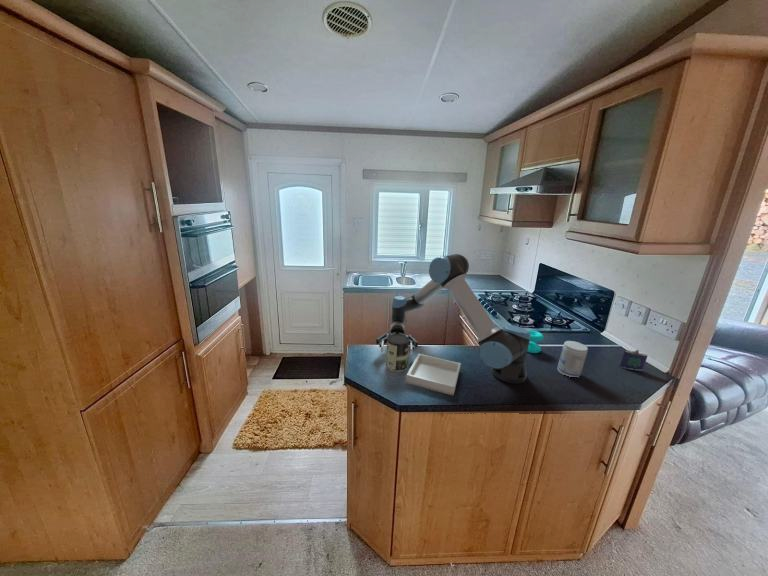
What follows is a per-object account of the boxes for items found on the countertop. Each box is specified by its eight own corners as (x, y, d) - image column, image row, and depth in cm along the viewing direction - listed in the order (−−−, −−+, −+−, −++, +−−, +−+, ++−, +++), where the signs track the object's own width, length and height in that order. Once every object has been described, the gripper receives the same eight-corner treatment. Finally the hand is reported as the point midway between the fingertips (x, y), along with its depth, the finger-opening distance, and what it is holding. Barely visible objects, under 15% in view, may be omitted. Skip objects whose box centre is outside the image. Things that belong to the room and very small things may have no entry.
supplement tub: (552, 367, 143) (559, 339, 139) (572, 368, 143) (579, 340, 139) (564, 378, 134) (571, 349, 129) (585, 379, 134) (593, 350, 129)
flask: (641, 370, 144) (647, 350, 141) (643, 373, 142) (650, 353, 139) (618, 365, 148) (624, 346, 144) (620, 368, 145) (626, 349, 142)
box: (459, 370, 135) (460, 363, 134) (453, 395, 117) (454, 387, 116) (417, 360, 142) (418, 353, 141) (405, 383, 124) (406, 374, 123)
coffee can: (408, 362, 140) (410, 335, 136) (405, 373, 131) (408, 345, 127) (387, 358, 142) (389, 332, 138) (383, 370, 133) (385, 342, 129)
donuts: (548, 336, 153) (532, 337, 151) (544, 353, 156) (529, 354, 154) (534, 328, 162) (519, 329, 160) (531, 344, 165) (516, 346, 163)
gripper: (420, 339, 155) (423, 359, 135) (373, 335, 156) (369, 355, 136) (421, 326, 153) (424, 345, 133) (374, 322, 154) (370, 341, 134)
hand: (396, 350), depth 134 cm, fingers open, 13 cm apart
